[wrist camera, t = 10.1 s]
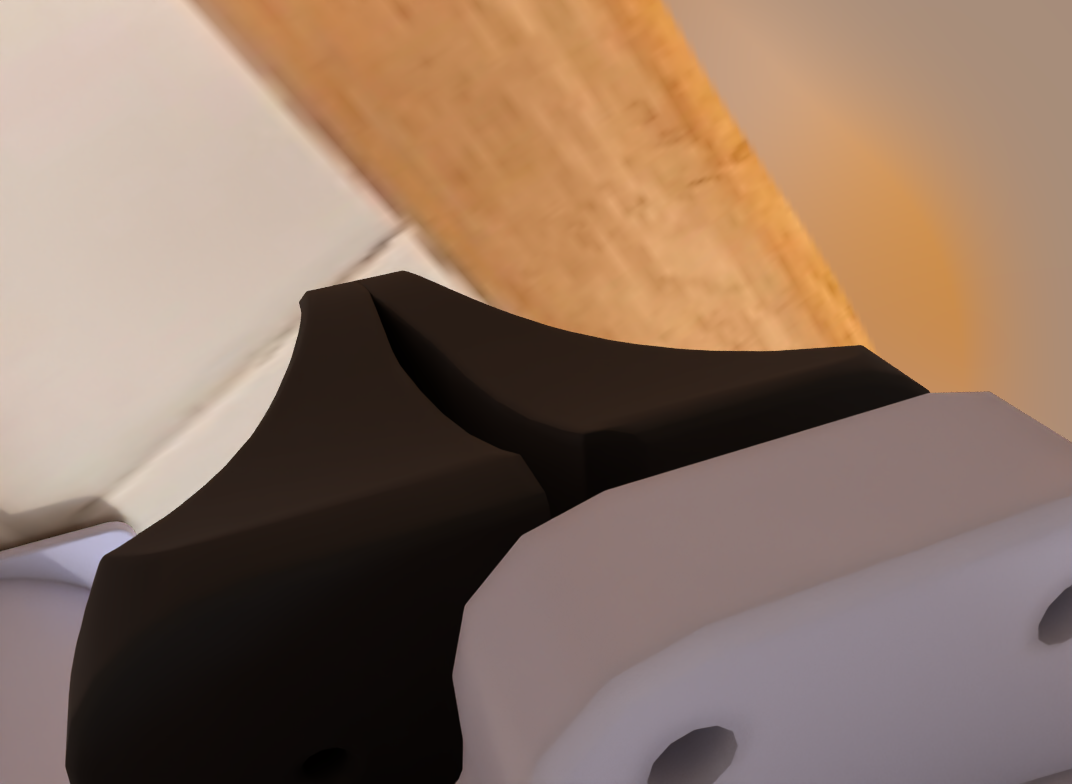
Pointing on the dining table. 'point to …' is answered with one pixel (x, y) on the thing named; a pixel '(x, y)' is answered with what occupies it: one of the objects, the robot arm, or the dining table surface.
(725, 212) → the dining table surface
